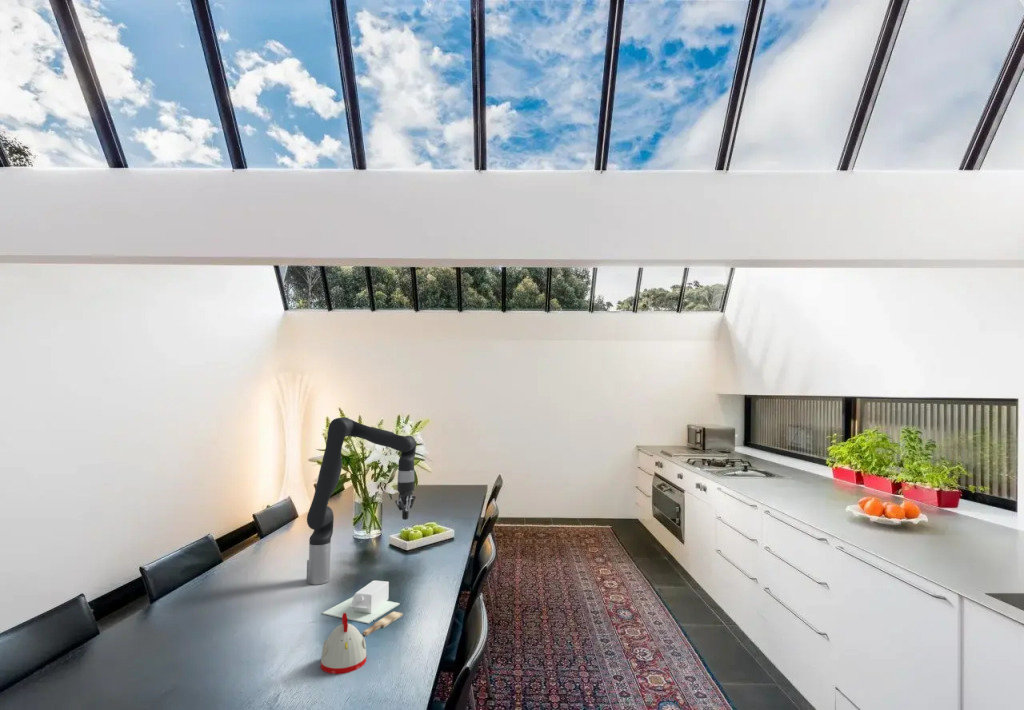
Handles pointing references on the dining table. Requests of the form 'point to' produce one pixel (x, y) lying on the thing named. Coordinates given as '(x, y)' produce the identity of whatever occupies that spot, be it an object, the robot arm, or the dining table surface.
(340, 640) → the kitchen timer
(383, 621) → the beech turner
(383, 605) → the mat
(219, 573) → the dining table surface
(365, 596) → the milk carton
